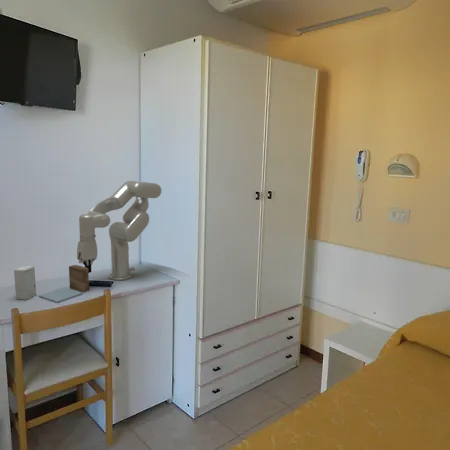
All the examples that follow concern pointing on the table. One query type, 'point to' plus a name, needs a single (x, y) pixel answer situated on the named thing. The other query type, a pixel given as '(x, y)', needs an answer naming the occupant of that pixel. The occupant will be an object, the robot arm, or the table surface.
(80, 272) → the walnut slab
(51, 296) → the mat
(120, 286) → the table surface
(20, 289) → the skincare box
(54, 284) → the table surface
